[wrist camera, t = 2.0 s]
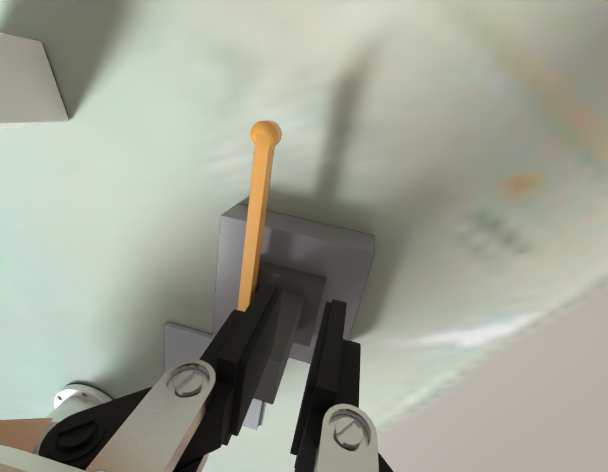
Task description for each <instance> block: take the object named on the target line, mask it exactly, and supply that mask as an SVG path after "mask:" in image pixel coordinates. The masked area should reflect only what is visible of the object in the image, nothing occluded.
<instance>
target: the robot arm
mask: <svg viewBox="0 0 608 472" xmlns="http://www.w3.org/2000/svg"><path fill="white" fill-rule="evenodd" d="M282 295H283V290H282V289H279V285H278V284H274V283H270V282H267V281H264V283H263V284H262V286H261V287H260V289H259V291H258V292H257V294H256V295H255V297H254V299H253V300H252V302H251V304H250V305H249V307H248V308H247V310H246V312H244V311H240V310H236V309H235V310H233V311H232V312H231V314H230V315H229V317H228V318H227V320H226V321H225V322H224V324H223V325H222V327H221V328H220V330H219V331H218V333H217V334H216V336H215V337H214V339H213V340H212V341H211V343H210V344H209V346H208V347H207V349H206V350H205V352H204V353H203V355H202V356H201V357H200V359H199V360H197V359H188V360H184V361H180V362H178V363H176V364H174V365H172V366H171V367H170V368H169V369H168V370H167V371H165V373H164V374H163V375H162V376H161V378H160V379H159V380H158V381H157V382H156V384H155V385H154V386H153V387H150V388H147V389H144V390H141V391H138V392H136V393H133V394H130V395H127V396H124V397H121V398H118V399H115V400H112V399H111V398H110V397H109V396H107V395H106V394H104V393H103V392H101V391H99V390H97V389H95V388H92V387H90V386H86V385H81V384H72V385H68V386H65V387H64V388H63V389H61V390H60V391H59V392H58V393H57V394H56V396H55V398H54V408H55V410H53V411H52V412H51V413H50V414H49V415H48V416H47V417H46V418H37V419H16V420H0V472H201V471H202V469H203V467H204V465H205V463H206V461H207V459H208V456H209V453H210V452H212V451H214V450H216V449H218V448H220V447H221V445H222V444H223V445H226V446H227V445H228V442H229V440H230V438H231V435H235V436H238V434H239V432H240V429H241V427H242V424H243V422H244V419H245V417H246V414H247V412H248V409H249V407H250V404H251V402H252V399H253V397H254V395H255V392H256V390H257V387H258V385H259V382H260V380H261V377H262V375H263V372H264V370H265V367H266V365H267V362H268V360H269V357H270V355H271V352H272V349H273V345H274V340H275V335H276V329H277V323H278V318H279V312H280V306H281V300H282ZM346 306H347V302H343V301H339V300H335V299H332V303H331V302H328V301H326V304H325V308H324V312H323V316H322V320H321V324H320V328H319V332H318V336H317V340H316V344H315V348H314V352H313V356H312V360H311V365H310V369H309V373H308V378H307V382H306V386H305V391H304V395H303V400H302V404H301V408H300V413H299V417H298V421H297V426H296V430H295V434H294V439H293V443H292V448H291V452H290V453H291V454H294V455H297V457H296V462H295V467H294V468H295V472H393V471H392V469H391V468H390V467H389V466H388V464H387V463H386V462H385V460H384V459H383V458H382V456H381V455H380V454H379V453H378V443H377V433H376V428H375V426H374V424H373V422H372V420H371V419H370V418H369V417H368V416H367V414H366V413H364V412H363V411H362V410H360V409H359V380H360V349H361V348H360V343H356V342H352V341H349V340H345V339H343V333H344V324H345V315H346Z"/></svg>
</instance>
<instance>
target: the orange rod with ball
mask: <svg viewBox="0 0 608 472" xmlns="http://www.w3.org/2000/svg"><path fill="white" fill-rule="evenodd" d="M281 136H282V133H281V129H280V127H279V125H278V124H277V123H275V122H273V121H260V122H257V123H256V124H254V126H253V127H252V129H251V139H252V141H253V143H254V144H255V150H254V159H253V169H252V178H251V187H250V197H249V206H248V215H247V225H246V234H245V243H244V253H243V262H242V271H241V281H240V290H239V299H238V309H237V310H240V311H244V312H245V310H246V309H247V307H248V306H249V304H250V302H251V301H252V299H253V298H254V296H255V291H256V284H257V276H258V269H259V261H260V254H261V246H262V239H263V231H264V223H265V216H266V208H267V201H268V193H269V186H270V178H271V171H272V163H273V155H274V148H275V145H277V144H278V143H279V142H280V140H281Z"/></svg>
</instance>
